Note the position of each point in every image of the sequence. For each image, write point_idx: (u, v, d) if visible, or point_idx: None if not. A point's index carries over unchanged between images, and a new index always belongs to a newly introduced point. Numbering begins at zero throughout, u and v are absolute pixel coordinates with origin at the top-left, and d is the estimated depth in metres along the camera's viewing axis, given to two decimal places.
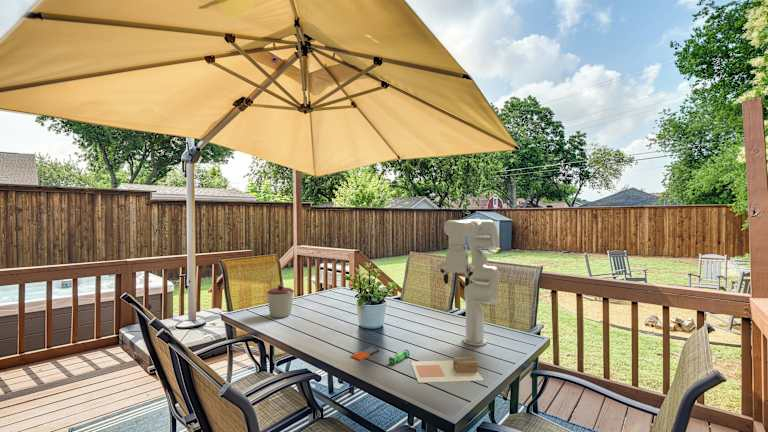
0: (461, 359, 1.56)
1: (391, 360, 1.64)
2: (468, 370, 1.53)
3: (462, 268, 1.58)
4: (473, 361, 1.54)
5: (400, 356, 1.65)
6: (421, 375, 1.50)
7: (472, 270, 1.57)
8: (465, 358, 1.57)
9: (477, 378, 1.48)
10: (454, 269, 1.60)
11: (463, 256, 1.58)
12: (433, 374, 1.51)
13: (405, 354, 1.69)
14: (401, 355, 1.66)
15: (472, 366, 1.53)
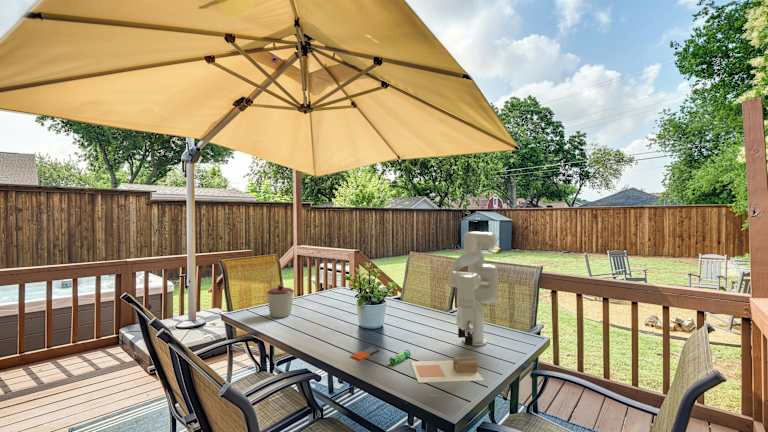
0: (461, 359, 1.56)
1: (392, 360, 1.64)
2: (468, 370, 1.53)
3: None
4: (473, 361, 1.54)
5: (401, 356, 1.65)
6: (421, 375, 1.50)
7: None
8: (465, 358, 1.57)
9: (477, 378, 1.48)
10: None
11: None
12: (433, 374, 1.51)
13: (406, 354, 1.68)
14: (402, 355, 1.65)
15: (472, 366, 1.53)
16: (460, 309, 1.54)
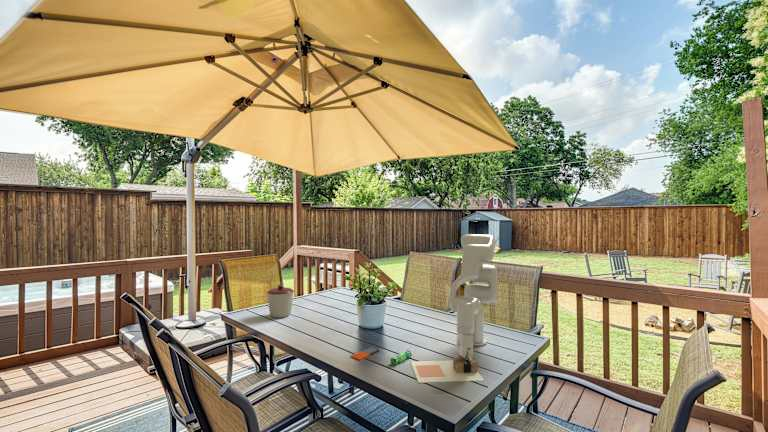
0: (461, 359, 1.56)
1: (393, 361, 1.63)
2: None
3: None
4: (473, 361, 1.54)
5: (402, 357, 1.64)
6: (421, 375, 1.50)
7: None
8: None
9: (477, 378, 1.48)
10: None
11: None
12: (433, 374, 1.51)
13: (407, 355, 1.68)
14: (403, 356, 1.65)
15: (472, 366, 1.53)
16: (460, 336, 1.54)
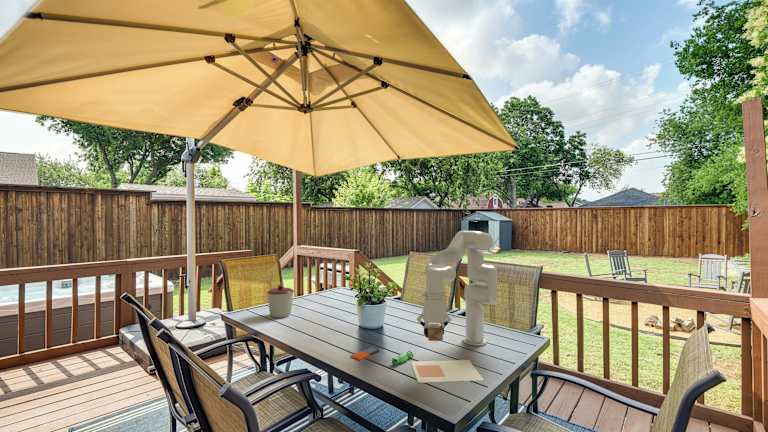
0: (433, 328, 1.53)
1: (394, 361, 1.63)
2: None
3: None
4: (437, 324, 1.58)
5: (403, 357, 1.64)
6: (421, 375, 1.50)
7: None
8: (431, 326, 1.55)
9: (477, 378, 1.48)
10: None
11: None
12: (433, 374, 1.51)
13: (408, 355, 1.67)
14: (404, 356, 1.64)
15: None
16: (438, 303, 1.52)
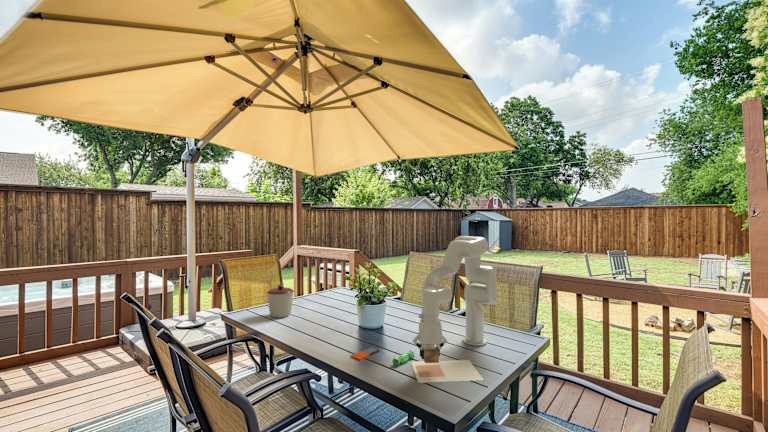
0: (429, 349, 1.53)
1: (395, 361, 1.62)
2: None
3: None
4: (432, 345, 1.58)
5: (404, 358, 1.63)
6: (421, 375, 1.50)
7: None
8: (426, 347, 1.55)
9: (477, 378, 1.48)
10: None
11: None
12: (433, 374, 1.51)
13: (409, 356, 1.67)
14: (405, 357, 1.64)
15: None
16: (434, 325, 1.52)
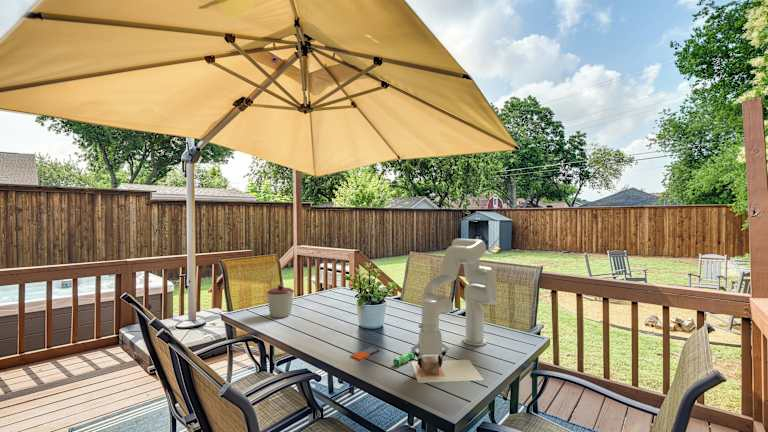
0: (430, 362, 1.53)
1: (396, 362, 1.62)
2: None
3: None
4: (433, 357, 1.58)
5: (405, 358, 1.63)
6: (421, 375, 1.50)
7: None
8: (427, 360, 1.55)
9: (477, 378, 1.48)
10: None
11: None
12: None
13: (410, 356, 1.67)
14: (406, 357, 1.63)
15: None
16: (434, 335, 1.52)
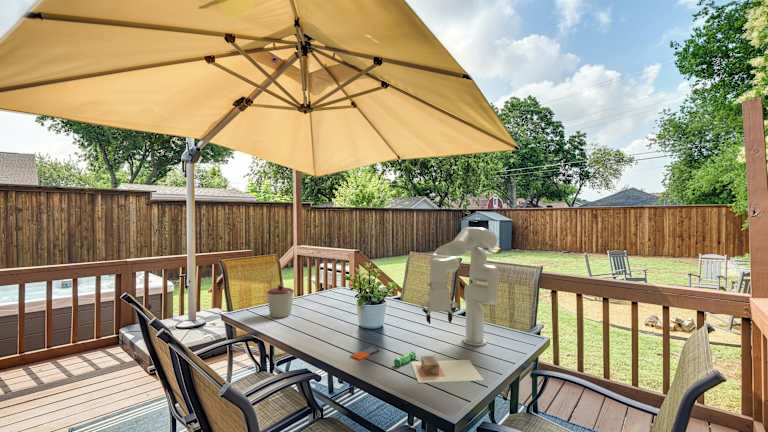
0: (430, 362, 1.53)
1: (396, 362, 1.62)
2: None
3: None
4: (433, 357, 1.58)
5: (406, 358, 1.62)
6: (421, 375, 1.50)
7: None
8: (427, 360, 1.55)
9: (477, 378, 1.48)
10: None
11: None
12: None
13: (411, 356, 1.66)
14: (407, 357, 1.63)
15: None
16: (443, 292, 1.57)
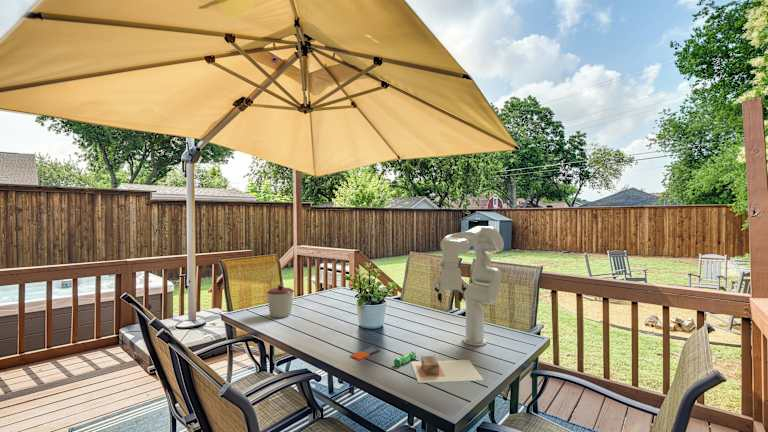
0: (430, 362, 1.53)
1: (396, 362, 1.62)
2: None
3: None
4: (433, 357, 1.58)
5: (406, 358, 1.62)
6: (421, 375, 1.50)
7: None
8: (427, 360, 1.55)
9: (477, 378, 1.48)
10: None
11: None
12: None
13: (411, 356, 1.66)
14: (407, 357, 1.63)
15: None
16: (454, 272, 1.64)
